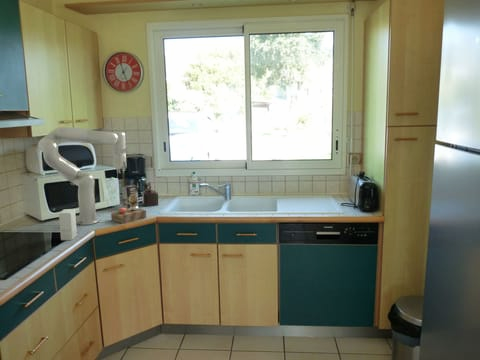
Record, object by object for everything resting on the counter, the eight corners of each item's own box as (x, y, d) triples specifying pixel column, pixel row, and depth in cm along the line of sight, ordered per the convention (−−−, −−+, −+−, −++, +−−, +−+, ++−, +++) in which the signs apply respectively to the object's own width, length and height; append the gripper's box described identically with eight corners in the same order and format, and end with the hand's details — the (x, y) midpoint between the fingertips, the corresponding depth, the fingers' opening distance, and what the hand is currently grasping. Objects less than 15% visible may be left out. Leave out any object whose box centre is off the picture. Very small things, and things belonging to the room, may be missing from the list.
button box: (121, 223, 248) (121, 216, 247) (111, 220, 256) (111, 212, 255) (146, 217, 261) (146, 210, 260) (136, 214, 269) (135, 207, 268)
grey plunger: (133, 215, 258) (133, 208, 257) (129, 214, 261) (129, 207, 260) (140, 214, 261) (139, 206, 260) (136, 213, 264) (135, 205, 263)
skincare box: (66, 235, 225) (63, 208, 223) (78, 235, 226) (75, 208, 223) (60, 240, 217) (57, 212, 214) (73, 240, 218) (70, 212, 215)
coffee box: (128, 209, 282) (127, 187, 279) (122, 208, 286) (121, 186, 283) (138, 207, 289) (137, 185, 286) (133, 206, 293) (131, 184, 290)
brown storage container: (141, 203, 300) (140, 180, 296) (156, 202, 304) (155, 179, 300) (144, 208, 285) (143, 183, 282) (160, 206, 290) (158, 182, 286)
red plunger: (121, 217, 251) (120, 209, 250) (117, 216, 254) (116, 208, 253) (128, 216, 255) (127, 208, 254) (124, 214, 258) (123, 207, 257)
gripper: (108, 150, 262) (110, 178, 265) (119, 152, 251) (120, 181, 254) (119, 150, 267) (120, 177, 270) (130, 151, 257) (131, 180, 259)
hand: (120, 179), depth 262 cm, fingers closed
